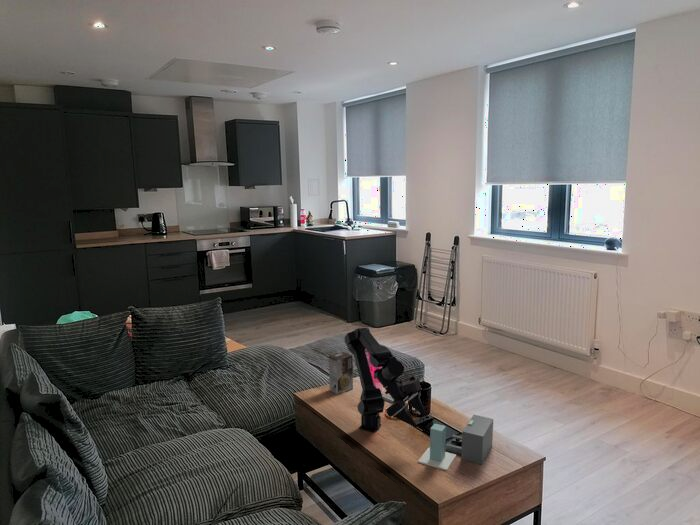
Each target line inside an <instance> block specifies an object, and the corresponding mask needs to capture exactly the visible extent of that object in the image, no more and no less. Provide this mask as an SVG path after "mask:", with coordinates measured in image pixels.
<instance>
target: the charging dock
mask: <svg viewBox="0 0 700 525" xmlns="http://www.w3.org/2000/svg"><path fill="white" fill-rule="evenodd" d="M493 432H494V418H492V417H491V418H490V417H486V416H481V415H477V414H473V415H472V416H471V418H470V419H469V421H468V422H467V423H466V425H465V427H464V428H463V429H462V431H461V436H459V435H456V434H452V435H451V439H452V438H456V439H459V440H462V443H461V446H458V445H454V444H450V443H445V451H446V452H450V453H451V452H452V453H454V454H459V455H461V457H460V459H461V460H462V461H467V462H471V463H474V464H477V465H482V466H483V463H484V461H485V459H486V458H487V456H488V454H489V452H490V450H491V448H492V447H493V437H494V436H493V434H494V433H493Z"/></svg>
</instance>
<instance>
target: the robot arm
mask: <svg viewBox="0 0 700 525" xmlns="http://www.w3.org/2000/svg"><path fill="white" fill-rule="evenodd" d="M344 343H345V345H346V346H347V350H348V352H350V353H351V355H352V356H353V358H354V361H355V366H356V369H357V374H358V377H359V381H360V385H361V388H362V389H361V394H360V398H359V400H360V401H359V403H358V404H357V411H358V413H359V414H360V419H361V421H360V426H359V427H358V428H359V429H360V430H365V431H367V432H371V433H375V432H377V430H378V429H379V428H380V427H381V426H382V423H381V422H382V421H381V420H382V419H381V418H382V417H381V416H380V414H381V413H384V410H385V409H384V407H385V401H386V400H384V399H383V397H382V394H381V391H382V390H381V388H379V387H376V386H375V383H374V379H377V380H378V382H379V383H380V385H381V386H382V387H383V388H384V389H385V392H384V394H385V395H387V396H389V397H392V398H393V400H394V401H393V403H392V404H391V405H389V407H388V408H386V414H387V416H388V417H389V418H393V419H397V420H400V421H402V422H404V423H406V424H407V425H410V426H412V427H416V426H417V423H416V422H415V420H414V418H413V417H412V415H411V414H410V413H409V410H408V406H405V403H407V404H410V405H411V406H412V407H413V408H415V409H416V411H417V412H418V413H419V414H421V415H423V416H426V415H427V412H426V409H425V406H424V405H423V404H422V402H421V399H420V396H421V391H420V390H421V389H422V388H421V385H420V382H421V380H420V379H419V378H420V377H419V376H417V374H412V375H411V376H409V379H408V380H407V381H404V379H402V378H400V379H399V377H401V376H402V375H403V373H404V372H405V365H404V364H403V363H402V362H401V361H400V360H398V359H397V357H396V356H395V355H394V354H393V353H392V351H391V350H390V349H389V348H388V347H386V346H385V345H381V344H380V343H379V342H378V340H377V339H376V338H375V337H374V336H373V333H371V331H370V329H369V327H358V328H355V329H354V330H352V331H351V332H347V334H346V335H344ZM366 351H367V352H368V354H369V358H368V356H367V354H366ZM368 360H369V361H368ZM369 363H370V364H371V365H372V367H373V368H377V369H375V370H374V371H373V374H374V375H372V372H371V369H370V368H371V367H370V365H369ZM418 377H419V378H418ZM373 378H374V379H373ZM419 391H420V392H419ZM418 392H419V393H418ZM388 394H389V395H388Z"/></svg>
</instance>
